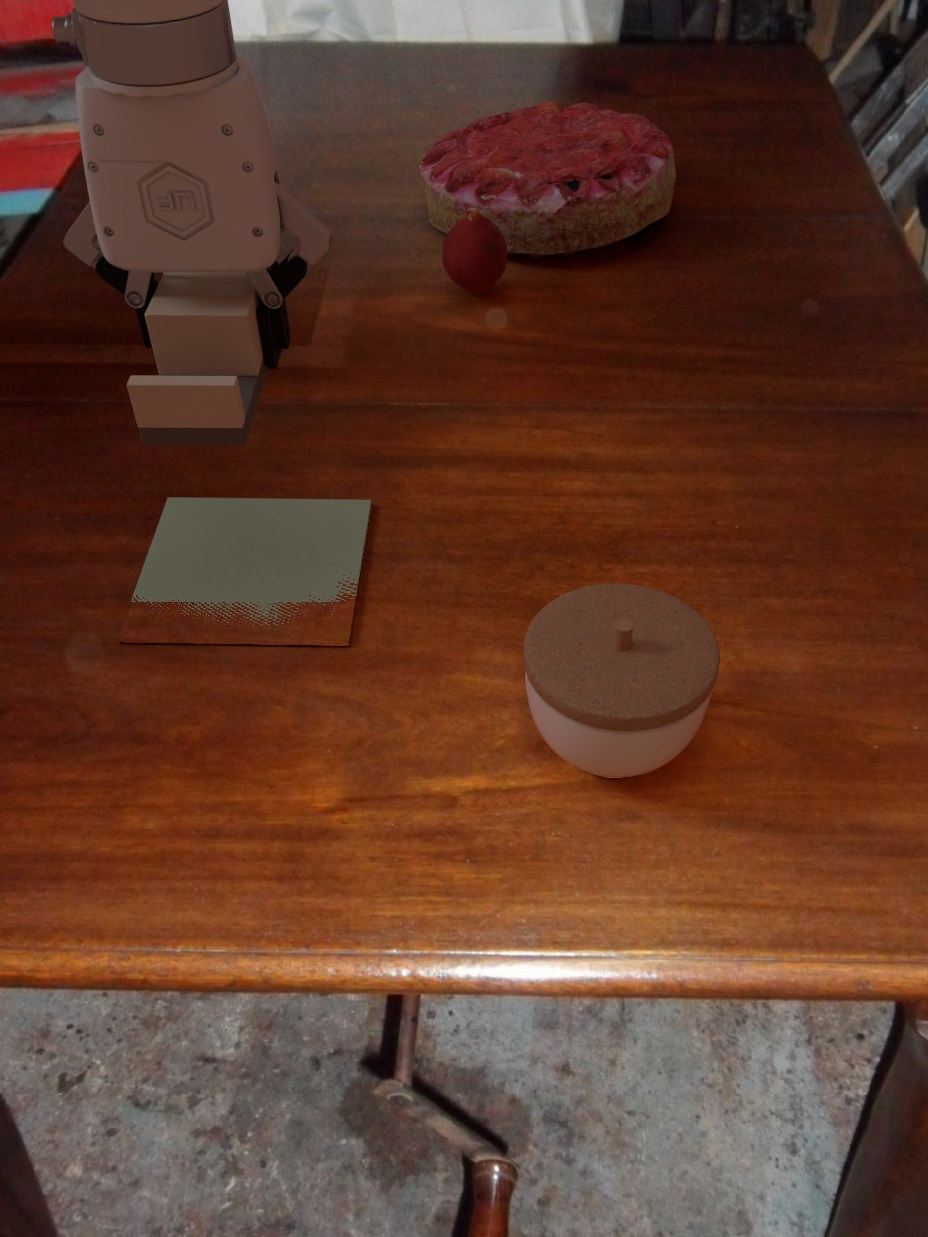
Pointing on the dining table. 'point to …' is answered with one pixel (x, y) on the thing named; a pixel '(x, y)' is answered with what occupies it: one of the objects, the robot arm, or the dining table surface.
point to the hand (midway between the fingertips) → (220, 354)
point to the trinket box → (619, 677)
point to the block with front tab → (201, 362)
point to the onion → (474, 253)
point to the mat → (254, 553)
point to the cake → (552, 176)
